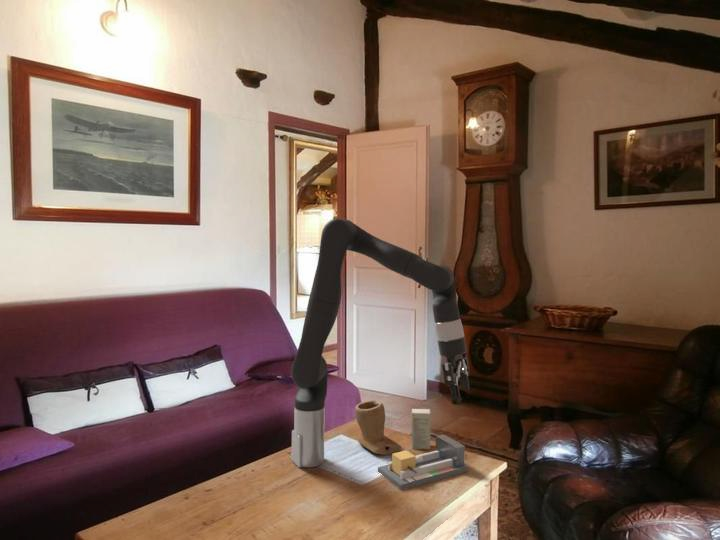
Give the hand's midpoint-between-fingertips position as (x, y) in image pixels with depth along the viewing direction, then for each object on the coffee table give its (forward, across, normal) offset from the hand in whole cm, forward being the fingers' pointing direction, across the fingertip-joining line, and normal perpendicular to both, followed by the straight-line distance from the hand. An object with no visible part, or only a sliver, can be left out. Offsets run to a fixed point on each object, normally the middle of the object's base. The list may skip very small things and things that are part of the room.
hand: (461, 394), depth 145 cm
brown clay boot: (+20, -10, -37) cm, 43 cm away
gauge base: (+23, -2, -17) cm, 29 cm away
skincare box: (+22, -19, -24) cm, 38 cm away
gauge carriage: (+21, +3, -18) cm, 28 cm away
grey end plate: (+23, -11, -12) cm, 28 cm away
